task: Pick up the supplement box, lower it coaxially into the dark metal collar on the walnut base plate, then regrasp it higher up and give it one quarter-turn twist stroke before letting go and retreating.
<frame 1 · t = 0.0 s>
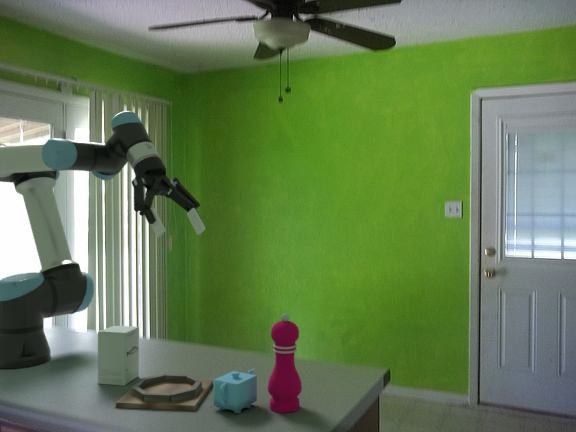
hand: (182, 233, 135), 36 cm above the kitchen counter, tool tilted 35°, fingers open, 13 cm apart
teapot: (238, 407, 118), on the kitchen counter
supplement box: (118, 381, 135), on the kitchen counter
collar plate: (167, 394, 125), on the kitchen counter
pepper mill: (284, 408, 117), on the kitchen counter
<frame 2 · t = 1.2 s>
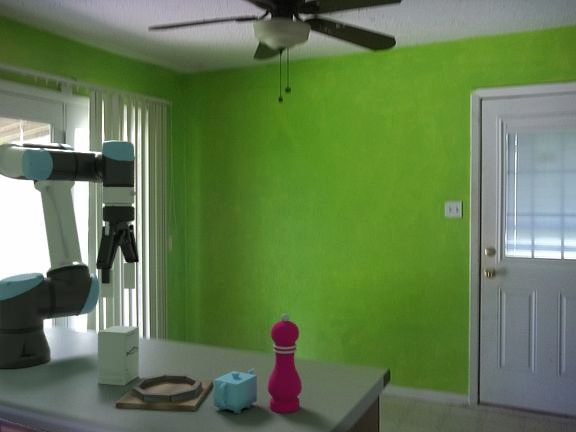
hand: (118, 292, 135), 21 cm above the kitchen counter, tool pointing down, fingers open, 13 cm apart
nothing on the kitchen counter moved.
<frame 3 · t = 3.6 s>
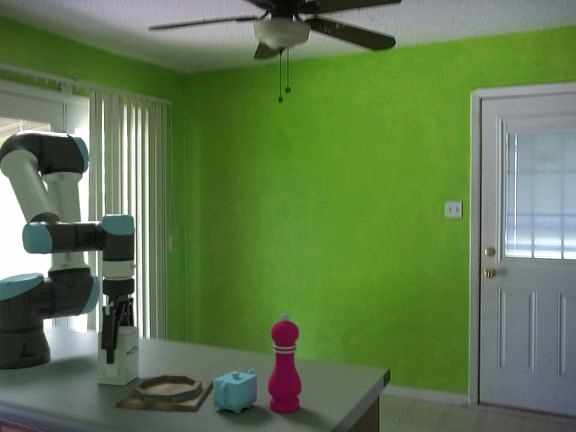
hand: (118, 371, 135), 2 cm above the kitchen counter, tool pointing down, fingers closed on supplement box, 8 cm apart
supplement box: (118, 380, 135), on the kitchen counter, touching gripper
everything else where it was.
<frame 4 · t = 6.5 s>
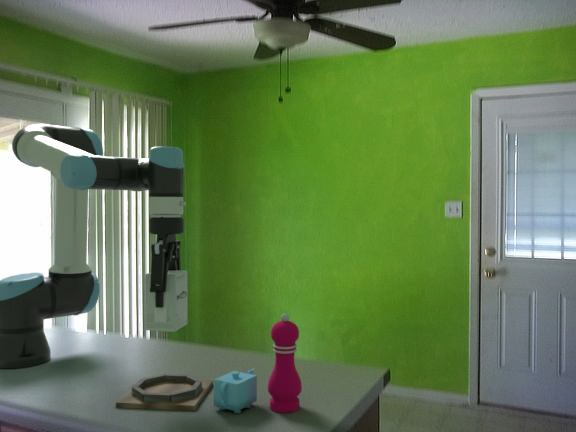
hand: (166, 317, 124), 17 cm above the kitchen counter, tool pointing down, fingers closed on supplement box, 8 cm apart
supplement box: (167, 328, 124), point 15 cm above the kitchen counter, touching gripper
everything else where it was.
when the fingers open (4 cm above the kitchen counter, at t = 9.4 s): supplement box stays where it is, resting on collar plate.
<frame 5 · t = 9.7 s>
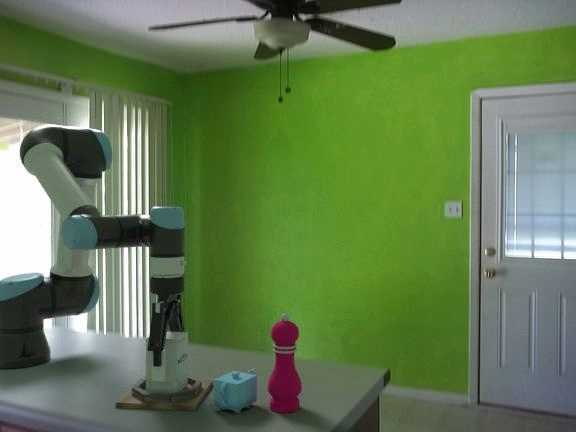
hand: (167, 372, 125), 5 cm above the kitchen counter, tool pointing down, fingers open, 11 cm apart
supplement box: (167, 391, 125), point 1 cm above the kitchen counter, touching collar plate
everything else where it was.
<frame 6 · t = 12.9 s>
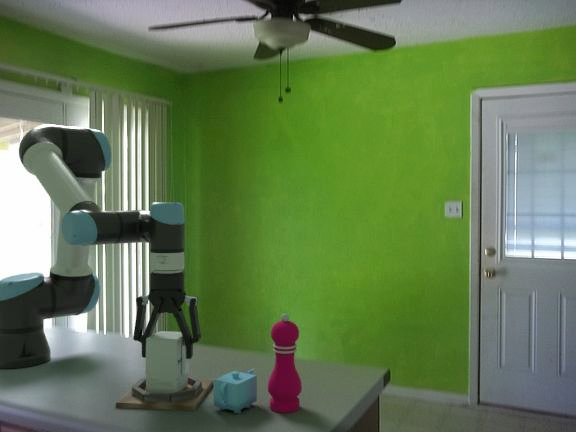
hand: (167, 372, 125), 5 cm above the kitchen counter, tool pointing down, fingers closed on supplement box, 8 cm apart
supplement box: (167, 391, 125), point 1 cm above the kitchen counter, touching collar plate, gripper
everything else where it was.
when the fingers open (5 cm above the kitchen counter, at t = 14.2 s): supplement box stays where it is, resting on collar plate.
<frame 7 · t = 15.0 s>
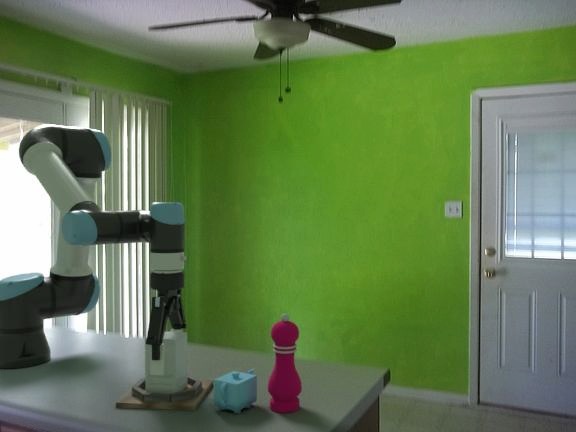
hand: (167, 365, 125), 7 cm above the kitchen counter, tool pointing down, fingers open, 13 cm apart
supplement box: (166, 391, 125), point 1 cm above the kitchen counter, touching collar plate
everything else where it was.
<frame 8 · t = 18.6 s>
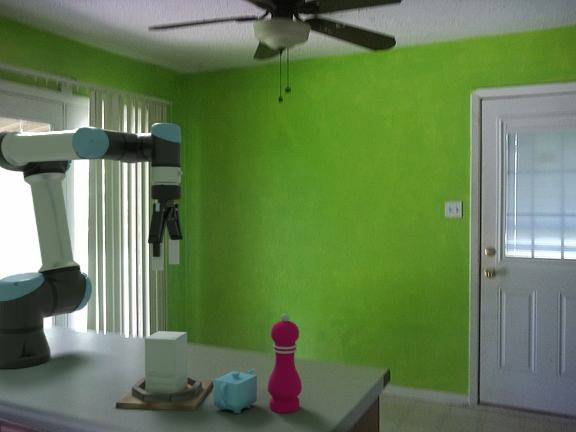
hand: (166, 267, 143), 27 cm above the kitchen counter, tool pointing down, fingers open, 13 cm apart
nothing on the kitchen counter moved.
at the end: supplement box 0.2 cm off-centre on the collar plate, point 0.8 cm above the collar plate's base; supplement box tilted 0°; the gripper is holding nothing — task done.
